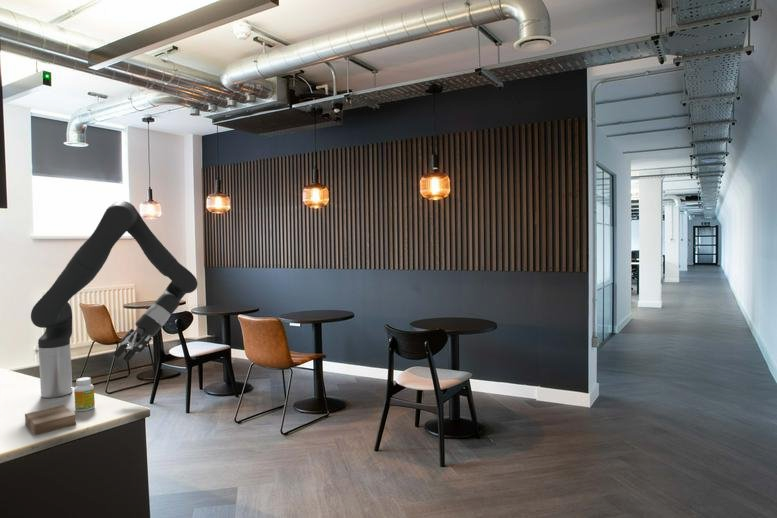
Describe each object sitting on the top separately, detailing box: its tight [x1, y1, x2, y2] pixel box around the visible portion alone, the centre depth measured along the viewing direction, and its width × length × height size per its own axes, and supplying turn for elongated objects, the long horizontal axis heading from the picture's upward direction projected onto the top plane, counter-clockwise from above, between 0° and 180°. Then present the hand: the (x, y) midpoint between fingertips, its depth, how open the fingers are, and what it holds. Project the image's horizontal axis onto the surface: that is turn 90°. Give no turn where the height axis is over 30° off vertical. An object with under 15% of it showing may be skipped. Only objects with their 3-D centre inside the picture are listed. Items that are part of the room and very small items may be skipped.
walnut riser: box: [24, 404, 77, 436], centre depth 149 cm, size 12×10×3 cm
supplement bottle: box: [73, 376, 96, 412], centre depth 162 cm, size 5×5×10 cm
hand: (119, 358), depth 169 cm, fingers open, 8 cm apart
